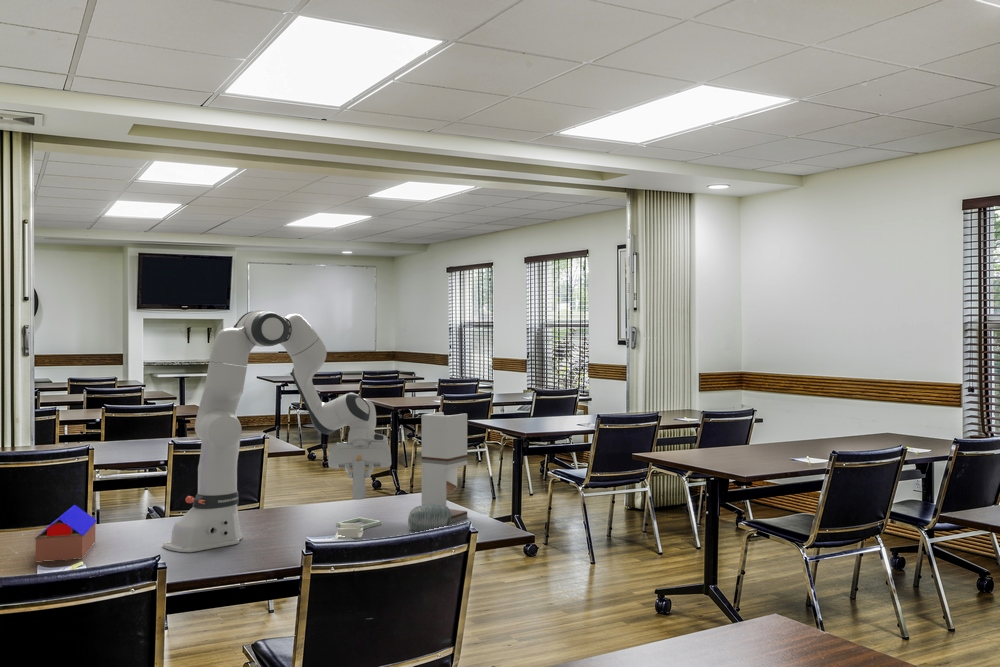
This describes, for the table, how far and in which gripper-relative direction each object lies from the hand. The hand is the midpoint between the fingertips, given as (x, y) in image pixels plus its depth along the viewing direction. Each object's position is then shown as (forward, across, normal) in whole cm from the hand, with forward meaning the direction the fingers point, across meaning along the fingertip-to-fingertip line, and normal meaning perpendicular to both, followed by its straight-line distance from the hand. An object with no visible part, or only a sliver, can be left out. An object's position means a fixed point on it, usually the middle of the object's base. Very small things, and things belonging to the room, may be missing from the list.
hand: (358, 477), depth 256 cm
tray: (+11, 0, +12) cm, 16 cm away
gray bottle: (+4, 0, +5) cm, 7 cm away
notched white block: (+4, +27, +19) cm, 34 cm away
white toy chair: (+19, -2, +4) cm, 19 cm away
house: (+27, -80, -4) cm, 84 cm away
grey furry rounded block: (+16, +22, +8) cm, 29 cm away
